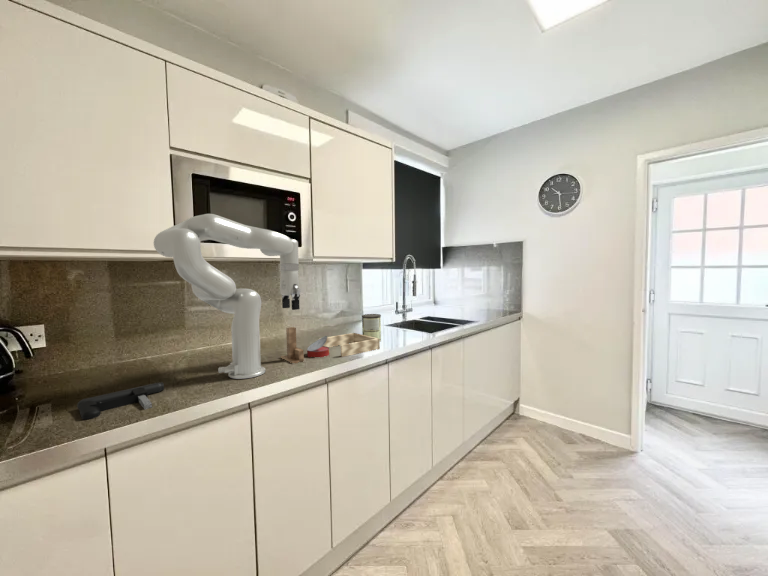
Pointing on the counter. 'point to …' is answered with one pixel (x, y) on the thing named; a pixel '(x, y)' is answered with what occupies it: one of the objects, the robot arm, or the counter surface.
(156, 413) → the counter surface
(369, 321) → the coffee can
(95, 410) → the door handle
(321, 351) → the canned food
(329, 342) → the box
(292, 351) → the upright wooden block
